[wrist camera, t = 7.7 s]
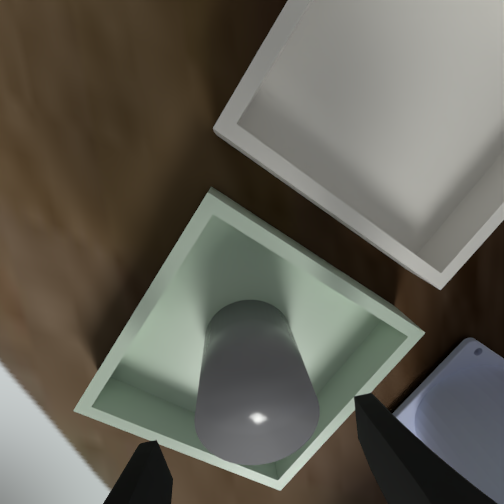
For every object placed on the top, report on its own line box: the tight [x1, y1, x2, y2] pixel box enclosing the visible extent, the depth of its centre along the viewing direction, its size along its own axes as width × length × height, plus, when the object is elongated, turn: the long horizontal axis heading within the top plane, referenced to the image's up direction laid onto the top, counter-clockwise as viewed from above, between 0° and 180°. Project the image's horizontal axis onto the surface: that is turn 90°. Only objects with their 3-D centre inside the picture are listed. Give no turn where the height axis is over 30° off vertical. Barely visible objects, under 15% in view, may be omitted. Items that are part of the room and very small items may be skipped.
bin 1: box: [213, 0, 504, 290], centre depth 11 cm, size 12×12×3 cm
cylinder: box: [194, 300, 320, 465], centre depth 13 cm, size 5×5×5 cm
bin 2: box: [74, 186, 425, 491], centre depth 15 cm, size 12×12×3 cm
